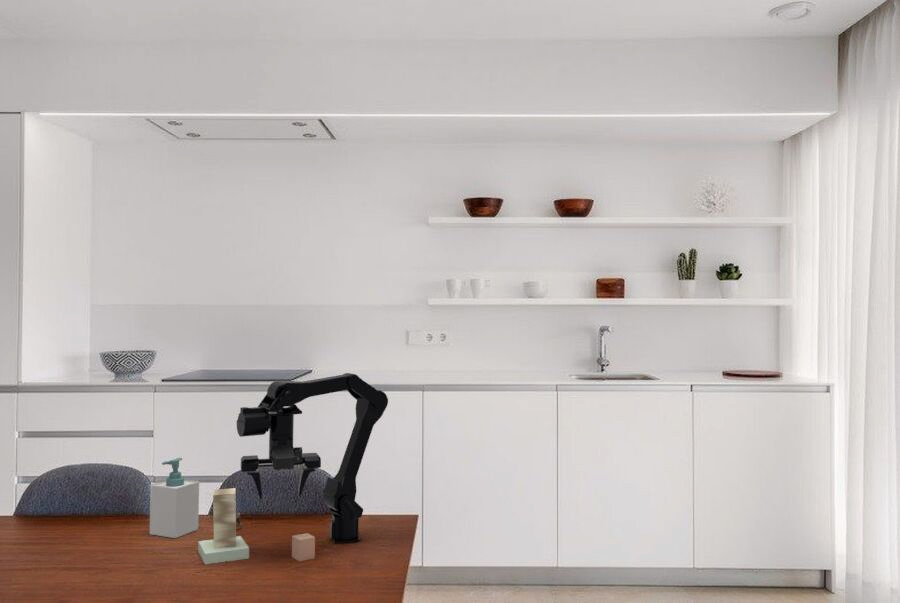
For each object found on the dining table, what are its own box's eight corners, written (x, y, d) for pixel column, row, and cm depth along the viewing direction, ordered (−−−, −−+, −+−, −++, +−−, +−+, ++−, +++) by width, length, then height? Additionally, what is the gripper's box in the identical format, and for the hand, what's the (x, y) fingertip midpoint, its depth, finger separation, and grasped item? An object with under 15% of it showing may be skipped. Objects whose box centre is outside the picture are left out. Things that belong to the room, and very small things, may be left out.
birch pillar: (236, 539, 178) (235, 488, 178) (235, 546, 173) (235, 493, 173) (214, 541, 176) (214, 489, 176) (213, 548, 172) (213, 495, 172)
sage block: (240, 548, 181) (240, 536, 181) (249, 560, 172) (249, 548, 172) (198, 553, 176) (198, 541, 176) (204, 566, 168) (205, 553, 168)
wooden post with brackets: (246, 525, 196) (241, 511, 194) (223, 544, 190) (217, 529, 189) (242, 523, 197) (237, 509, 196) (219, 542, 191) (213, 528, 190)
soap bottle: (148, 534, 189) (150, 460, 189) (173, 525, 197) (174, 454, 197) (174, 538, 186) (176, 463, 186) (198, 529, 194) (200, 457, 194)
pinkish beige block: (307, 553, 176) (307, 532, 176) (314, 558, 173) (315, 537, 173) (291, 556, 174) (292, 535, 174) (299, 561, 170) (299, 540, 171)
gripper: (243, 440, 167) (241, 508, 167) (324, 437, 173) (323, 503, 173) (241, 432, 178) (239, 497, 178) (318, 429, 184) (317, 492, 183)
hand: (280, 497), depth 178 cm, fingers open, 9 cm apart
